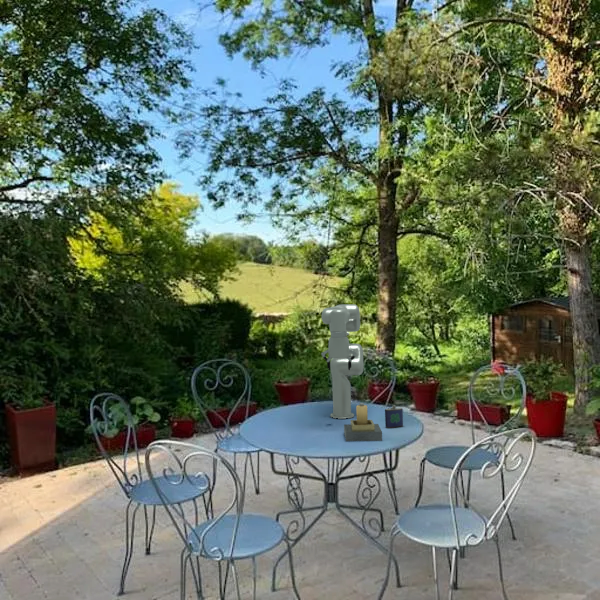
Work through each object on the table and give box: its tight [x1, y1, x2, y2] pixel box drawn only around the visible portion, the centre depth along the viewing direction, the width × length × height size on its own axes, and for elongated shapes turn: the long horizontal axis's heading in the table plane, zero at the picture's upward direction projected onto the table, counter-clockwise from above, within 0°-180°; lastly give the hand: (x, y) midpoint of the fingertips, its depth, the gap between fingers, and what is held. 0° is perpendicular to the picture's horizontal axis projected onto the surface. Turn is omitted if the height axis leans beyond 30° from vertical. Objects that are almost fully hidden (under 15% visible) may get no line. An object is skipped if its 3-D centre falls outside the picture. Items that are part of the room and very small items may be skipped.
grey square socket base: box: [343, 419, 383, 442], centre depth 243 cm, size 14×16×6 cm
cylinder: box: [355, 402, 369, 425], centre depth 243 cm, size 5×5×11 cm
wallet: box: [384, 404, 404, 429], centre depth 258 cm, size 9×3×11 cm, turn 105°
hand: (339, 369), depth 261 cm, fingers open, 9 cm apart
